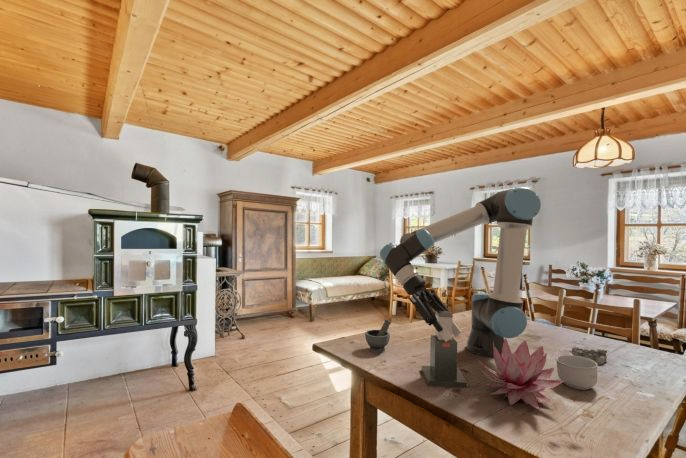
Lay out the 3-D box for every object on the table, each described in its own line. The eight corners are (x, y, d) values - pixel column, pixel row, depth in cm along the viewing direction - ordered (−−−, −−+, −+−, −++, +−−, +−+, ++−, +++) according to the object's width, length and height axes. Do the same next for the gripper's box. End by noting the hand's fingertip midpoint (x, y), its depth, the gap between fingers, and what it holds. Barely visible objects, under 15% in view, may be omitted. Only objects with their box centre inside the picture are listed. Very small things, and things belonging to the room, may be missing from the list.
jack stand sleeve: (456, 371, 116) (457, 333, 116) (467, 387, 104) (467, 345, 104) (421, 369, 117) (421, 332, 117) (428, 385, 105) (428, 344, 105)
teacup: (599, 397, 99) (599, 370, 99) (555, 387, 105) (556, 362, 105) (594, 379, 111) (594, 355, 111) (555, 371, 117) (555, 348, 117)
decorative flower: (504, 375, 113) (505, 330, 113) (575, 403, 95) (576, 350, 95) (463, 391, 102) (464, 341, 102) (535, 427, 84) (536, 366, 84)
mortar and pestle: (372, 356, 129) (373, 324, 129) (360, 348, 137) (361, 318, 137) (396, 351, 134) (397, 321, 134) (383, 344, 142) (384, 316, 142)
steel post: (448, 370, 113) (449, 311, 113) (451, 376, 108) (452, 314, 108) (434, 370, 113) (435, 310, 113) (437, 376, 108) (438, 314, 108)
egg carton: (608, 361, 128) (609, 350, 128) (602, 366, 123) (602, 355, 123) (576, 352, 136) (576, 342, 136) (569, 357, 131) (569, 346, 131)
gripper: (418, 284, 128) (459, 336, 117) (388, 290, 114) (431, 350, 103) (431, 271, 124) (474, 324, 113) (402, 276, 111) (448, 337, 99)
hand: (454, 336), depth 108 cm, fingers closed on steel post, 6 cm apart
